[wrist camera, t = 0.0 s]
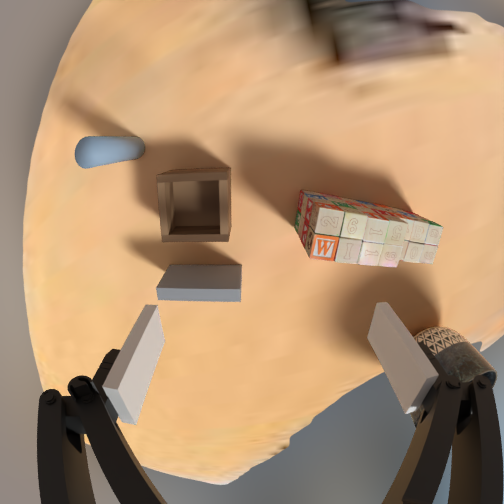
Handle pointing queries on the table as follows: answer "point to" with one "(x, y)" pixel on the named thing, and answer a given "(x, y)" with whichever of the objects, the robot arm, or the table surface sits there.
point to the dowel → (107, 150)
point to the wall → (201, 283)
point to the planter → (454, 357)
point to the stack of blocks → (363, 232)
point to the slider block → (195, 205)
